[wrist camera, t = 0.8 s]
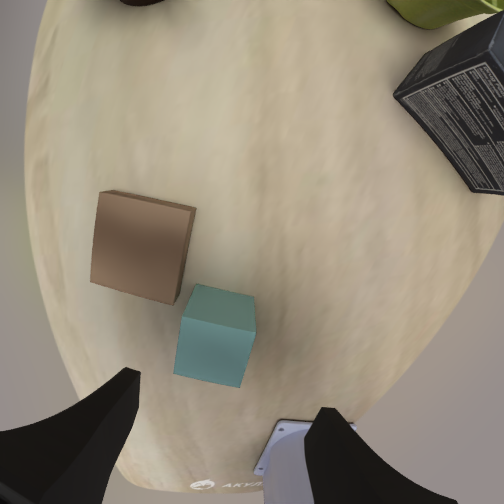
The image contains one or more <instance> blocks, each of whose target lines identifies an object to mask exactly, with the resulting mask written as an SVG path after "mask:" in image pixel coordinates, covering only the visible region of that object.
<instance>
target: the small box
mask: <svg viewBox="0 0 504 504" xmlns="http://www.w3.org/2000/svg"><path fill="white" fill-rule="evenodd" d="M393 95H394V97H395V98H396V99H397V100H398V101H399V102H400V103H401V105H402V106H403V107H404V108H405V109H406V110H407V111H408V112H409V113H410V114H411V115H412V116H413V117H414V118H415V120H416V121H417V122H418V123H419V124H420V125H421V126H422V127H423V129H424V130H425V131H426V132H427V133H428V134H429V135H430V137H431V138H432V139H433V140H434V141H435V143H436V144H437V145H438V146H439V147H440V149H441V150H442V151H443V153H444V154H445V155H446V156H447V158H448V159H449V160H450V161H451V163H452V164H453V166H454V167H455V168H456V170H457V171H458V172H459V174H460V175H461V177H462V178H463V179H464V181H465V182H466V184H467V185H468V186H469V188H470V189H471V191H472V192H473V193H486V194H496V195H504V10H502V11H500V12H498V13H497V14H495V15H493V16H491V17H489V18H487V19H485V20H483V21H481V22H479V23H478V24H476V25H474V26H472V27H471V28H469V29H467V30H465V31H463V32H462V33H460V34H458V35H456V36H454V37H453V38H451V39H449V40H448V41H446V42H444V43H442V44H441V45H439V46H437V47H436V48H434V49H433V50H431V51H429V52H427V53H425V54H424V56H423V57H422V58H421V59H420V60H419V62H418V63H417V64H416V65H415V67H414V68H413V69H412V70H411V72H410V73H409V74H408V75H407V77H406V78H405V79H404V81H403V82H402V83H401V84H400V86H399V87H398V88H397V89H396V91H395V92H394V94H393Z"/></svg>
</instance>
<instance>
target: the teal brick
mask: <svg viewBox="0 0 504 504" xmlns="http://www.w3.org/2000/svg"><path fill="white" fill-rule="evenodd" d="M255 336H256V320H255V306H254V297H252V296H248V295H243V294H239V293H234V292H230V291H225V290H221V289H217V288H212V287H208V286H204V285H200V284H196V286H195V288H194V290H193V292H192V295H191V297H190V299H189V301H188V304H187V306H186V308H185V311H184V313H183V315H182V320H181V326H180V332H179V338H178V345H177V352H176V358H175V365H174V373H173V374H177V375H181V376H186V377H190V378H194V379H198V380H203V381H207V382H212V383H217V384H222V385H227V386H232V387H238V388H240V385H241V382H242V379H243V376H244V372H245V369H246V366H247V363H248V359H249V356H250V353H251V349H252V346H253V343H254V339H255Z"/></svg>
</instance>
